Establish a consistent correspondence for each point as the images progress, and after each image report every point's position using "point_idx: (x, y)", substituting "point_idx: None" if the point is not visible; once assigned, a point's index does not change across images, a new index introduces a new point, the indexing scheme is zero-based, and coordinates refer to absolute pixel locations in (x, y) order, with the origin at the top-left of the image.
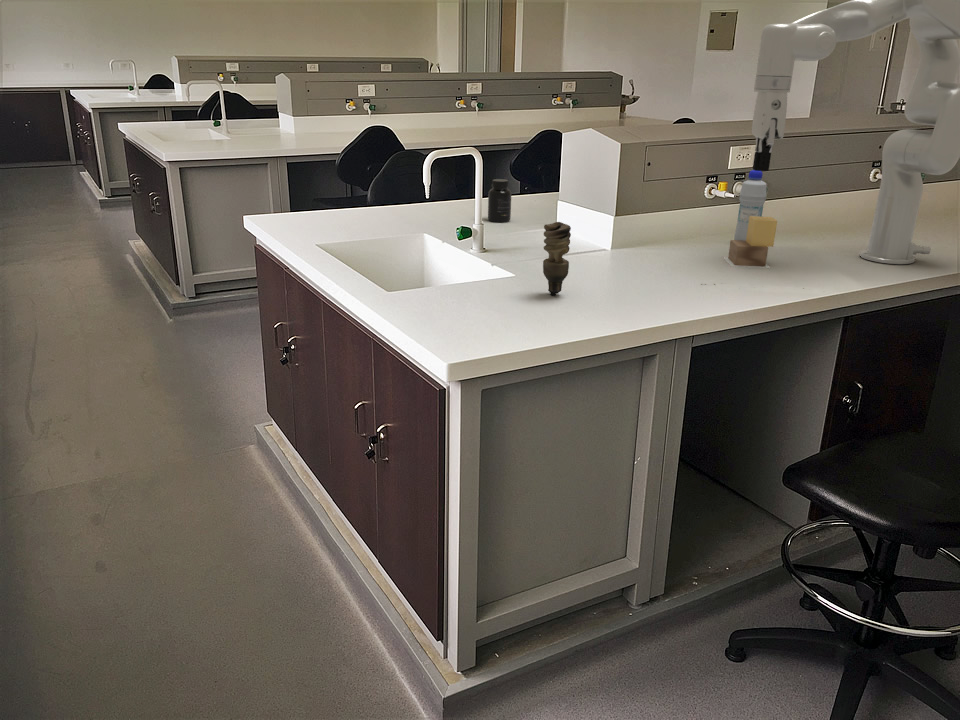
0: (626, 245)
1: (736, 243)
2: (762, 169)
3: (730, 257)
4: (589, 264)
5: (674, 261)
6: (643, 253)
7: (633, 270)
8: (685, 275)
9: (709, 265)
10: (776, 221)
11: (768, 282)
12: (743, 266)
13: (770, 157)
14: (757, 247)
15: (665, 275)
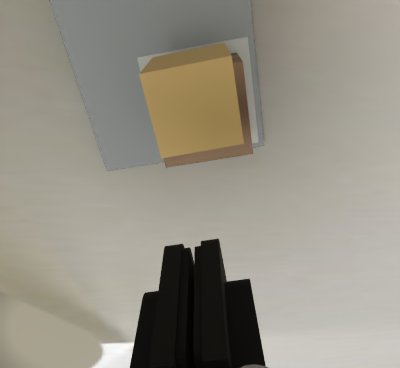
0: (79, 323)
1: (212, 154)
2: (225, 276)
3: None
4: (264, 358)
5: (188, 245)
6: (139, 296)
7: (290, 303)
8: (310, 225)
9: (200, 180)
10: (231, 58)
11: (344, 48)
12: (252, 112)
13: (223, 316)
14: (246, 95)
15: (318, 257)
